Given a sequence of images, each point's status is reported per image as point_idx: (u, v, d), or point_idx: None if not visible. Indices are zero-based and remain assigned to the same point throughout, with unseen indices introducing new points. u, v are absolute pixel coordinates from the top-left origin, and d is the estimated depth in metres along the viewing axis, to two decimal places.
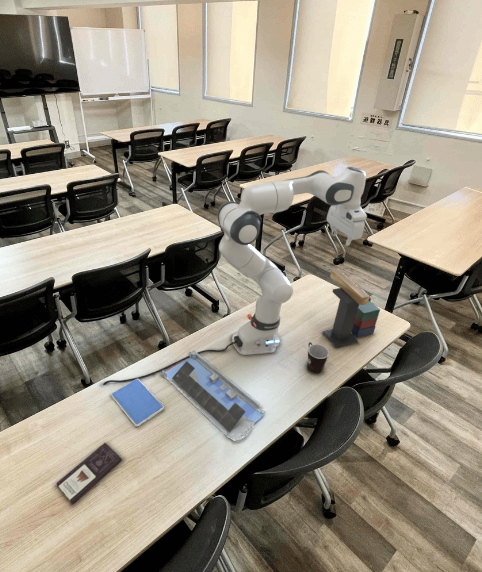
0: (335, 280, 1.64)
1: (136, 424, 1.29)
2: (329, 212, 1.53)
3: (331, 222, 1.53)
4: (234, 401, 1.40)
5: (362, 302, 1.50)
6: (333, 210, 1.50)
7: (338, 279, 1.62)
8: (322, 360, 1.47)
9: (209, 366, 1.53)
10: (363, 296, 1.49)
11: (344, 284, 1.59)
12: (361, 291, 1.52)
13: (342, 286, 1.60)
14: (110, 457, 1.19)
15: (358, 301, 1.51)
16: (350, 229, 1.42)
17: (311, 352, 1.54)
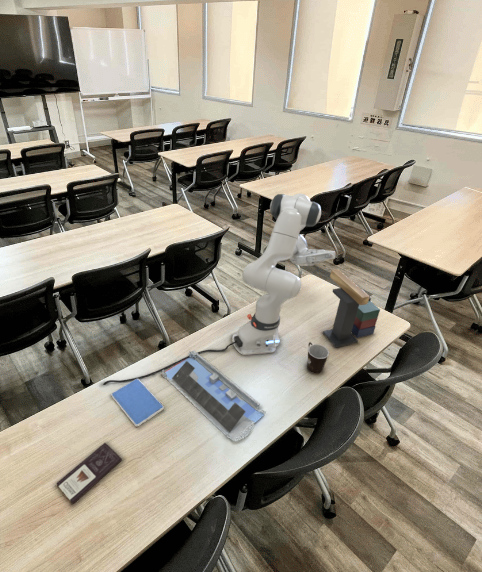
0: (335, 280, 1.64)
1: (136, 424, 1.29)
2: (298, 256, 1.80)
3: (306, 255, 1.78)
4: (234, 401, 1.40)
5: (362, 302, 1.50)
6: None
7: (338, 279, 1.62)
8: (322, 360, 1.47)
9: (209, 366, 1.53)
10: (363, 296, 1.49)
11: (344, 284, 1.59)
12: (361, 291, 1.52)
13: (342, 286, 1.60)
14: (110, 457, 1.19)
15: (358, 301, 1.51)
16: (326, 252, 1.83)
17: (311, 352, 1.54)
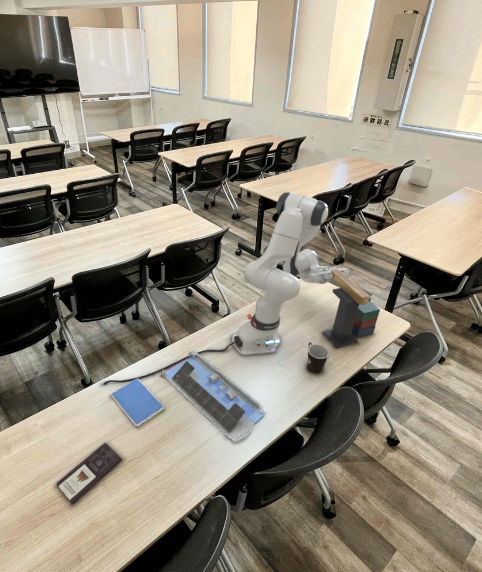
0: (335, 280, 1.64)
1: (136, 424, 1.29)
2: (310, 274, 1.71)
3: (319, 273, 1.69)
4: (234, 401, 1.40)
5: (362, 302, 1.50)
6: (312, 273, 1.74)
7: (338, 279, 1.62)
8: (322, 360, 1.47)
9: (209, 366, 1.53)
10: (363, 296, 1.49)
11: (343, 284, 1.59)
12: (361, 291, 1.52)
13: (342, 286, 1.60)
14: (110, 457, 1.19)
15: (358, 301, 1.51)
16: (339, 269, 1.75)
17: (311, 352, 1.54)
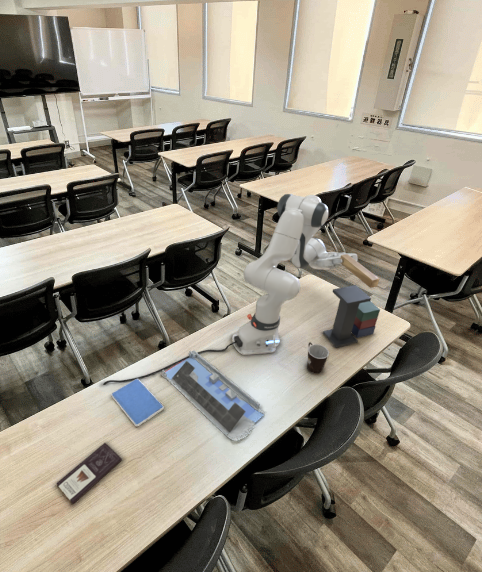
0: (345, 265, 1.68)
1: (136, 424, 1.29)
2: (320, 259, 1.75)
3: (329, 258, 1.73)
4: (234, 401, 1.40)
5: (372, 285, 1.54)
6: None
7: (348, 263, 1.66)
8: (322, 360, 1.47)
9: (209, 366, 1.53)
10: (373, 279, 1.53)
11: (353, 268, 1.63)
12: (371, 274, 1.56)
13: (352, 270, 1.64)
14: (110, 457, 1.19)
15: (368, 284, 1.55)
16: None
17: (311, 352, 1.54)
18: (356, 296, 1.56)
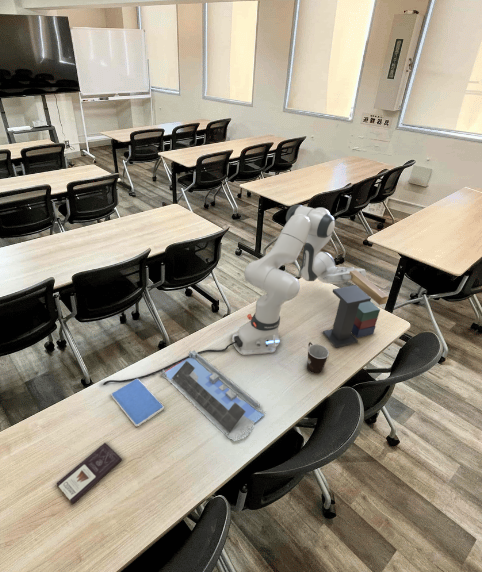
0: (353, 281, 1.72)
1: (136, 424, 1.29)
2: (329, 274, 1.79)
3: (338, 274, 1.76)
4: (234, 401, 1.40)
5: (381, 302, 1.57)
6: (331, 274, 1.81)
7: (357, 279, 1.69)
8: (322, 360, 1.47)
9: (209, 366, 1.53)
10: (382, 296, 1.56)
11: (362, 284, 1.66)
12: (380, 291, 1.59)
13: (361, 286, 1.67)
14: (110, 457, 1.19)
15: (377, 301, 1.58)
16: None
17: (311, 352, 1.54)
18: (356, 296, 1.56)
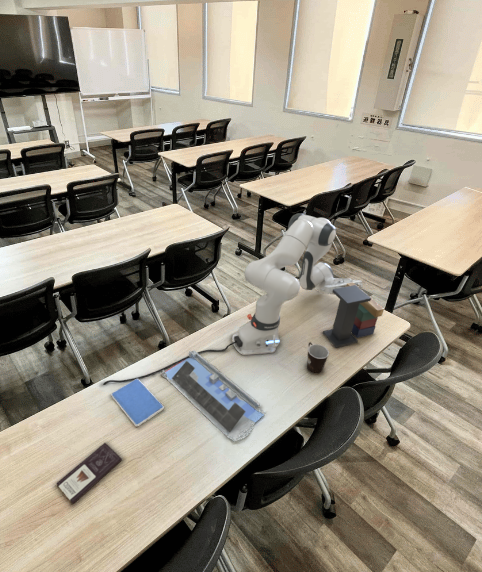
0: None
1: (136, 424, 1.29)
2: (326, 286, 1.82)
3: (335, 285, 1.80)
4: (234, 401, 1.40)
5: (377, 314, 1.61)
6: (328, 285, 1.85)
7: None
8: (322, 360, 1.47)
9: (209, 366, 1.53)
10: (378, 309, 1.60)
11: None
12: (376, 304, 1.63)
13: None
14: (110, 457, 1.19)
15: (373, 313, 1.62)
16: (353, 281, 1.85)
17: (311, 352, 1.54)
18: (356, 296, 1.56)
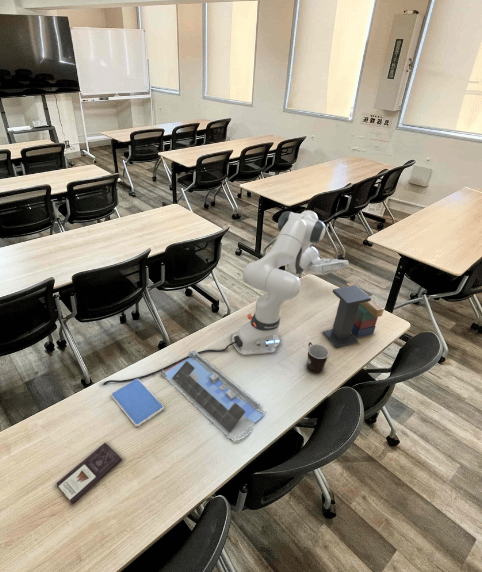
0: None
1: (136, 424, 1.29)
2: (314, 265, 1.89)
3: (322, 264, 1.87)
4: (234, 401, 1.40)
5: (377, 314, 1.61)
6: None
7: None
8: (322, 360, 1.47)
9: (209, 366, 1.53)
10: (378, 309, 1.60)
11: None
12: (376, 304, 1.63)
13: None
14: (110, 457, 1.19)
15: (373, 313, 1.62)
16: (340, 261, 1.93)
17: (311, 352, 1.54)
18: (356, 296, 1.56)
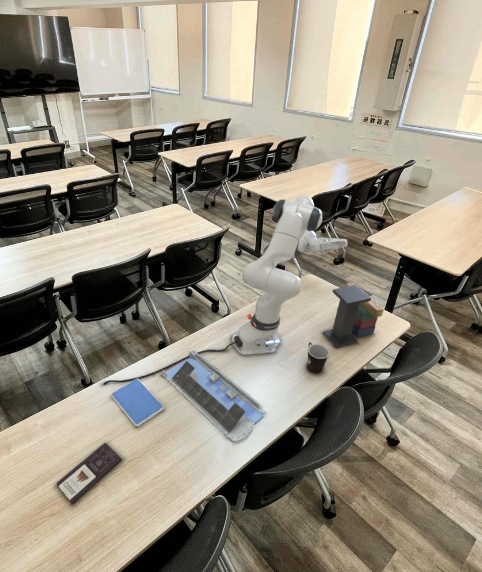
0: None
1: (136, 424, 1.29)
2: (311, 244, 1.85)
3: (320, 242, 1.82)
4: (234, 401, 1.40)
5: (377, 314, 1.61)
6: None
7: None
8: (322, 360, 1.47)
9: (209, 366, 1.53)
10: (378, 309, 1.60)
11: None
12: (376, 304, 1.63)
13: None
14: (110, 457, 1.19)
15: (373, 313, 1.62)
16: (338, 240, 1.88)
17: (311, 352, 1.54)
18: (356, 296, 1.56)
